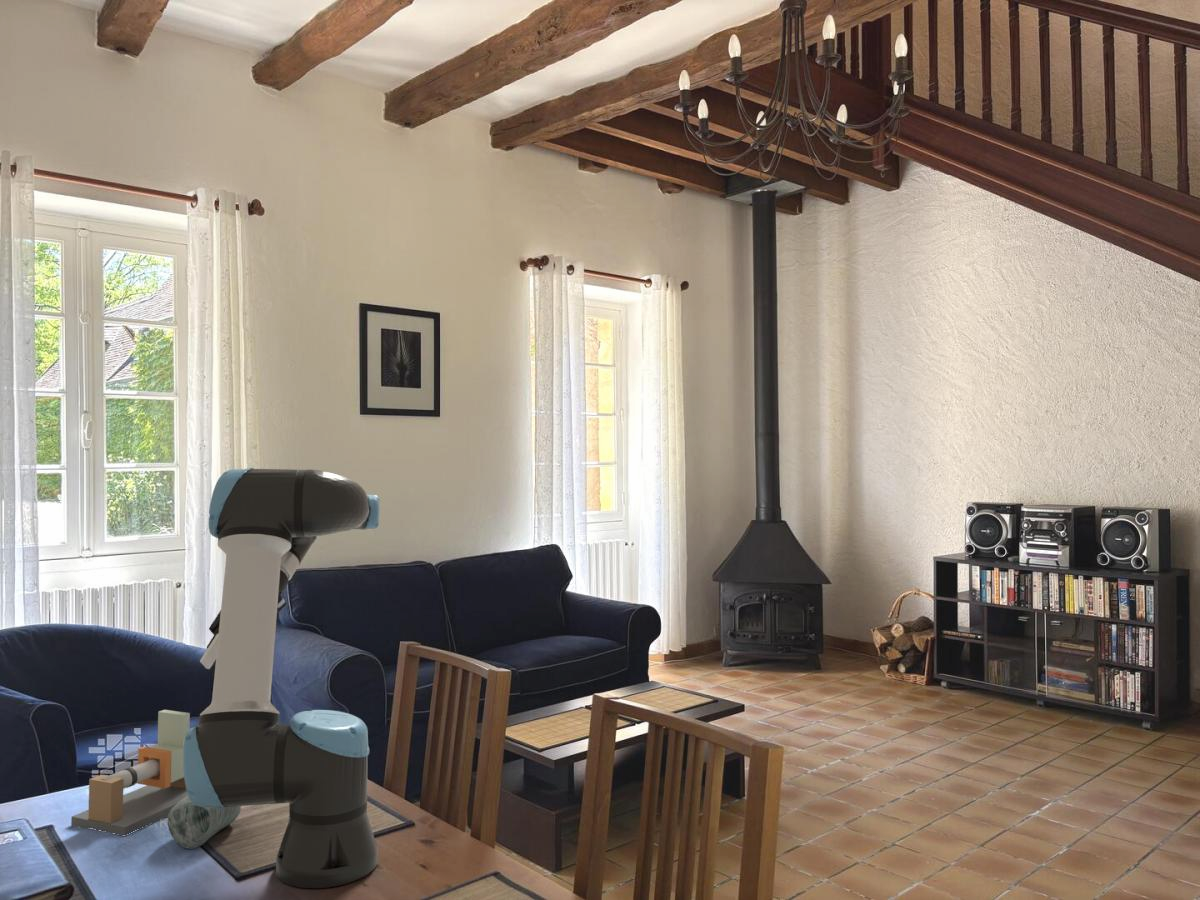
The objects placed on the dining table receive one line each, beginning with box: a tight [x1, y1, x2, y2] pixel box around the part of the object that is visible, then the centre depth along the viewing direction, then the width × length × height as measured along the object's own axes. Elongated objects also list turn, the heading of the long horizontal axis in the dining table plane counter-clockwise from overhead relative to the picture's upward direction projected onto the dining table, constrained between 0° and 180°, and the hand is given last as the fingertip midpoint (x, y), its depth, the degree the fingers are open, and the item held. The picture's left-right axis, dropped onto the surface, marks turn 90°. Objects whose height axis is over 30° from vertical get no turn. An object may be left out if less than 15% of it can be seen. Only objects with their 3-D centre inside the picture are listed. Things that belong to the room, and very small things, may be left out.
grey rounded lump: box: [166, 795, 242, 850], centre depth 150 cm, size 14×10×10 cm
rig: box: [70, 758, 188, 836], centre depth 161 cm, size 12×20×9 cm, turn 160°
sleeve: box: [149, 709, 191, 783], centre depth 165 cm, size 6×4×12 cm, turn 71°
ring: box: [137, 746, 171, 788], centre depth 162 cm, size 6×1×6 cm, turn 71°
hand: (215, 666), depth 176 cm, fingers open, 4 cm apart
